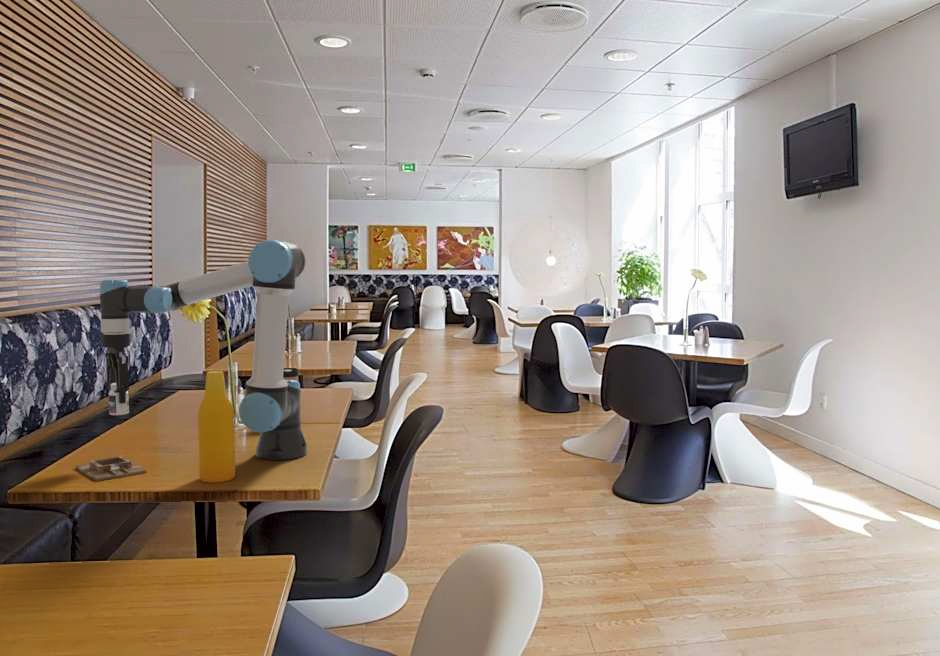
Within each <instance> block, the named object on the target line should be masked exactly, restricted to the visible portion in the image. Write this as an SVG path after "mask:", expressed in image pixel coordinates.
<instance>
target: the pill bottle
mask: <svg viewBox="0 0 940 656" xmlns="http://www.w3.org/2000/svg"><path fill="white" fill-rule="evenodd" d="M122 387H123V386H122ZM111 389H112V391H109V392H108V413H109V415H110V416H117V415H116V393H115V392H114V391H115V390H117V387H116V383H112V384H111ZM111 389H110V390H111ZM126 395H127V414H129V413H130V404H129V403H130V402H129V400H130V399H129V390H127V392H126ZM127 414H126V415H127ZM122 415H125V414H122ZM122 415H121V416H122Z"/></svg>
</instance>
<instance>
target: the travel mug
mask: <svg viewBox="0 0 940 656" xmlns="http://www.w3.org/2000/svg"><path fill="white" fill-rule="evenodd" d="M283 379H284V380H297V381H298V382H299V369H298V368H297V367H284V371H283Z"/></svg>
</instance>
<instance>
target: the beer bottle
mask: <svg viewBox="0 0 940 656" xmlns="http://www.w3.org/2000/svg"><path fill="white" fill-rule="evenodd" d="M205 377H206V378H205V390H204V396H203V399H202V401H201V402H200V405H199V408H198V410H197V411H198V413H197V420H198V424H197V425H198V428H197V429H198V430H197V431H198V460H199V462H198V465H199V466H198V467H199V469H198V475H199V479H200V481H201V482H204V483H211V484H212V483H213V484H215V483H216V484H217V483H223V482H228V481H231V480H233V479H234V478H235V475H236V461H235V460H236V459H235V457H236V456H235V413H234V408H233V404H232V402H231V400H230V399H229V397H228V394H227V391H226V383H225V375H224V371H222V370H221V371H220V370H217V371H216V370H214V371H213V370H212V371H206V376H205Z"/></svg>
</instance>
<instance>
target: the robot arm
mask: <svg viewBox="0 0 940 656" xmlns="http://www.w3.org/2000/svg"><path fill="white" fill-rule="evenodd" d="M305 267H306V256H305V254H304V251H303V249H302V248H301V247H300V246H299V245H297V244H295V243H294V242H291V241H288V240H287V241H286V240H280V239H267V240H263V241H261V242H258V243H257V244H256V245H255V246H254V247H253V248H252V249H251V251H250V252H249V255H248V259H247V260H246V261H243V262H240V263H236V264H233V265H230V266H226V267H224V268H220V269H217V270H213V271H210V272H207V273H203V274H199V275H198V276H194V277H190V278H188V279H184V280H181V281H177V282H174V283H171V284H166V285H157V286H155V285H153V286H131V285H129V281H128V280H127V279H102V280H101V281H100V283H99V295H98V297H99V303H100V332H101V333H102V334H101V336H100V337H101V347H102V348H106V349H108V352H106V353H105V354H104V356H105V365H106V366H105V367H106V368H105V369H106V386H107V387H108V389H109V392H110V391H112V389H111V384H112V383H116V387H117V390H115V391H114V392H115V393H116V415H115V416H122V414H124V415H127V395H126V392H127V391H129V390H130V379H129V356H128V355H126V352H125V349H124V348H127V347H130V346H131V334H130V333H129V332H130V331H131V328H130V327H131V326H130V325H131V324H132V321H131V320H130V313H131V314H133V313H137V314H139V313H141V314H142V313H143V314H147V313H148V314H160V313H162V314H165V313H167V312H169V311H173V312H174V311H176V310H180V309H182V308H184V307H186V306H190V305H193V304H197V303H199V302H203V301H206V300H211V299H213V298H216V297H219V296H222V295H226V294H229V293H232V292H237V291H240V290H243V289H246V288H251V287H252V288H253V289H254V291H256V307H255V308H256V311H255V324H254V325H255V326H254V329H255V330H254V338H253V339H254V340H253V355H252V357H253V358H252V359H253V360H252V369H251V370H252V371H251V372H252V373H251V377H250V378H249V379H248V380H247V381H246V382H245V391H244V393H245V394H244V397H243V398H242V399H241V402H240V403H239V407H238V415H239V420H240V421H241V424H243V425H244V426H245V427H246V428H247V429H248V430H250V431H252V432H255V433H260V434H259V438H258V441H257V444H256V449H255V456H256V457H257V458H258V459H261V460H269V461H285V460H292V459H297V458H301V457H303V456H306V455H307V454H308V446H307V445H308V444H307V442H306V440H305V437H304V434H303V430H302V426H301V425H302V421H301V420H302V419H301V417H302V416H301V413H302V412H301V411H302V410H301V408H302V407H301V383H300V382H299V380H298V381H297V380H284V379H283V371H284V368H285V356H286V355H285V352H286V342H287V323H288V310H289V299H290V298H289V297H290V295H291V294H292V293H293V292H294V291H295V289H296V279H297V278H298V277H300V276H301V274H302V273H303V271H304V270H305ZM122 386H123V387H122Z"/></svg>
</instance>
